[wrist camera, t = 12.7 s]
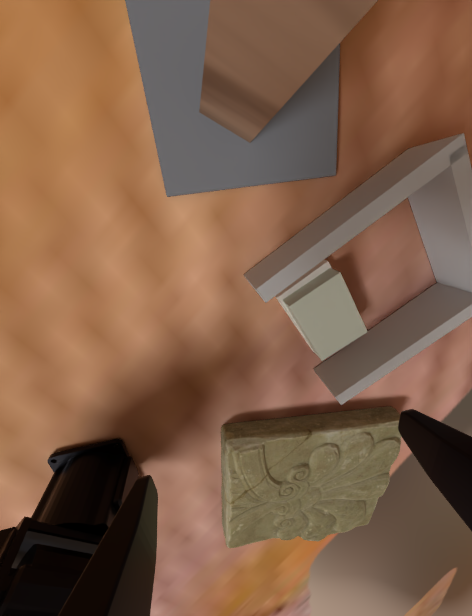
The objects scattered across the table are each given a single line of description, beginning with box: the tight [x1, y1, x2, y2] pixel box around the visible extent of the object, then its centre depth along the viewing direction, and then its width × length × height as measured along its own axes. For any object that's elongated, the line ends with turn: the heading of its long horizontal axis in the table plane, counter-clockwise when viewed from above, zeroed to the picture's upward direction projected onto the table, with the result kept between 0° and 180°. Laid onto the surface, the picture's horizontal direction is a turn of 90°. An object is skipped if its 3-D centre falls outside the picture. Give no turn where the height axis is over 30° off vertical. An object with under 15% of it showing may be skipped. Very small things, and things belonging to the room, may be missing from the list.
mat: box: [125, 0, 340, 197], centre depth 15 cm, size 12×12×1 cm
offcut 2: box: [283, 268, 368, 361], centre depth 21 cm, size 5×6×2 cm
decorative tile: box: [221, 406, 401, 548], centre depth 29 cm, size 19×20×4 cm
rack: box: [244, 133, 472, 405], centre depth 20 cm, size 15×13×4 cm
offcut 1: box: [275, 260, 332, 353], centre depth 22 cm, size 5×7×2 cm
